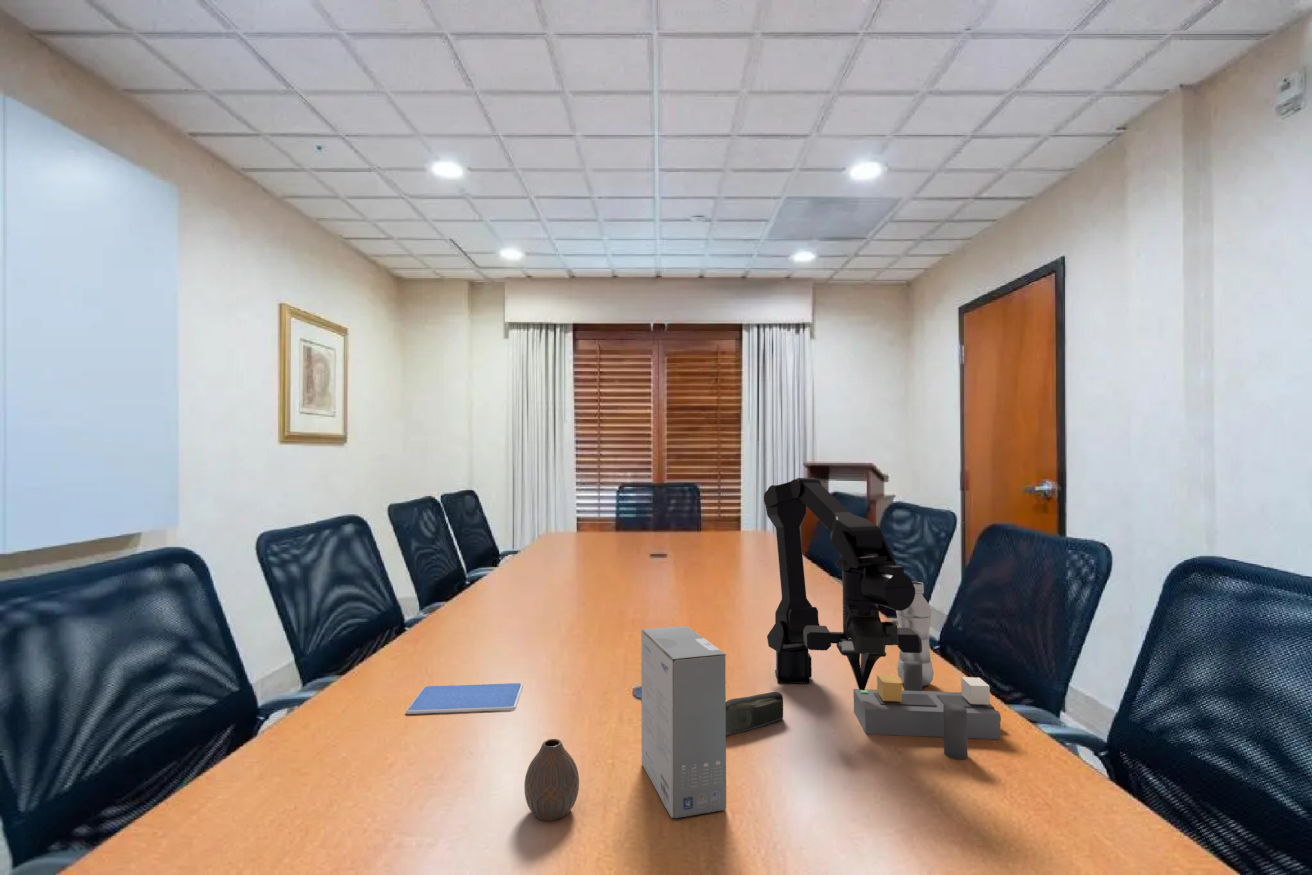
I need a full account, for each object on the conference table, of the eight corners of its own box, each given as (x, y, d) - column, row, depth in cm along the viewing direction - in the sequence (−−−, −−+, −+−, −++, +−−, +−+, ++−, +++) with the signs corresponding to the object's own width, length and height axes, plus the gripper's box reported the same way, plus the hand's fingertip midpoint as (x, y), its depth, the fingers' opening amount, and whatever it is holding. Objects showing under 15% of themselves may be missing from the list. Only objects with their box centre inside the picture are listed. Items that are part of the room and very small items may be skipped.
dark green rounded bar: (774, 687, 110) (707, 703, 102) (787, 692, 107) (718, 709, 99) (774, 716, 110) (706, 734, 102) (786, 722, 107) (718, 741, 99)
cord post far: (907, 704, 114) (906, 665, 114) (902, 697, 117) (901, 659, 117) (925, 704, 114) (924, 666, 114) (919, 698, 117) (919, 660, 117)
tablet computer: (523, 688, 124) (523, 681, 124) (515, 713, 112) (515, 706, 112) (424, 692, 122) (424, 685, 122) (404, 718, 110) (404, 710, 110)
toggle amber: (883, 700, 104) (882, 682, 104) (877, 691, 108) (876, 674, 108) (901, 701, 104) (901, 683, 104) (895, 692, 108) (894, 674, 108)
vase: (527, 798, 83) (528, 731, 83) (580, 796, 83) (580, 729, 84) (520, 829, 76) (521, 756, 76) (577, 826, 76) (577, 754, 77)
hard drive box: (728, 811, 79) (727, 654, 80) (671, 822, 77) (671, 659, 78) (688, 756, 94) (687, 623, 95) (639, 763, 92) (639, 627, 93)
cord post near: (948, 759, 93) (947, 711, 93) (941, 749, 96) (940, 703, 96) (971, 760, 93) (970, 712, 93) (962, 750, 96) (961, 704, 96)
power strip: (865, 733, 102) (865, 707, 102) (853, 711, 111) (853, 687, 111) (1011, 739, 99) (1010, 713, 99) (987, 716, 108) (986, 692, 108)
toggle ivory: (970, 703, 102) (970, 685, 103) (961, 694, 106) (961, 676, 107) (989, 704, 102) (989, 686, 102) (979, 695, 106) (979, 677, 106)
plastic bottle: (937, 691, 120) (935, 586, 121) (900, 688, 121) (898, 585, 122) (929, 679, 126) (927, 580, 127) (894, 677, 128) (892, 579, 128)
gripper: (810, 607, 100) (812, 705, 99) (932, 609, 98) (934, 710, 97) (802, 592, 111) (803, 681, 110) (911, 594, 109) (912, 684, 108)
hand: (861, 689), depth 106 cm, fingers closed
